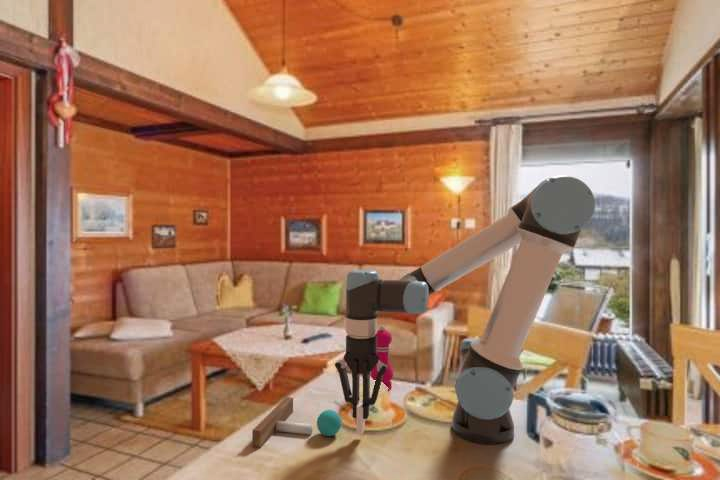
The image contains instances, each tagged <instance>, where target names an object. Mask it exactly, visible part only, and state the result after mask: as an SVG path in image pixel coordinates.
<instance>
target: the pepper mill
mask: <svg viewBox="0 0 720 480" xmlns="http://www.w3.org/2000/svg"><path fill="white" fill-rule="evenodd" d="M375 335H376V336H377V355H378V357H379V360H380V361H381V362H382V363H384V364H385V363H386V364H387V365H388V367H387V369H386V371H385V373H384V374H383V377H382V381H381V382H383V383H384V384H385V385H386V386H387V387H388V388H389V390H388V391H390V390H391V389H392V388H393V386H392V385H393V384H392V383H393V382H392V381H391V380H392V379H393V378H394V370H393V367H392V364H391V363H390V362H391V361H390V359H389V358H390V357H389V351H390V350H391V345H390V344H391V343H392V340H393V337H392V334H391V332H390V331H389V330H386V327H385V325H382V324H381V325H380V326H379V330H378V329H377V333H376V334H375ZM377 374H378V371H377V365H376V366H375V367H374V368H373V369H372V371H371V372H370V378H371V379H372V381H373V380H376V377H377Z"/></svg>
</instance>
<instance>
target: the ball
mask: <svg viewBox="0 0 720 480" xmlns="http://www.w3.org/2000/svg"><path fill="white" fill-rule="evenodd" d="M316 426H317V427H316V428H317V430H318V431H319V433H320V434H321V435H323V436H325V437H332V436H335V435H336V434H337V433H338V432H339V431H340V430H341V427H342V418H341V417H340V414H339V413H338V412H337V411H336V410H333V409H326V410H324V411H322V412H321V413H320V414H319V415H318V417H317V421H316Z"/></svg>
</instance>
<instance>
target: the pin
mask: <svg viewBox="0 0 720 480" xmlns="http://www.w3.org/2000/svg"><path fill="white" fill-rule="evenodd" d="M275 432H280V433H289V434H290V433H291V434H298V435H299V434H300V435H309V436H311V435H312V434H313V432H314V425H313V423H312V424H311V423H303V422H302V423H301V422H292V421H285V422H284V421H277V423H276V431H275Z"/></svg>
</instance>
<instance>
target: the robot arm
mask: <svg viewBox="0 0 720 480" xmlns="http://www.w3.org/2000/svg"><path fill="white" fill-rule="evenodd" d="M595 208H596V200H595V196H594V194H593V192H592V190H591V188H590V186H588V185H587V184H586V183H585V181H582V180H580V179H579V178H577V177H574V176H570V175H555V176H550V177H548V178H546V179H544V180H542V181H541V182H540V183H539V184H538V185H537V186H536V187H535V188H533V189H532V190H531V192H529V193H528V194H527V195H526V196H525V197H523V199H521V200H520V201H518V202H517V203H516V204H514V205H513V206H511V207H509V208H508V212H507V214H506V215H504V216H502V217H501V218H499V219H497V220H496V221H494V222H493V223H491V224H489V225H487V226H486V227H484V228H482V229H481V230H479V231H478V232H476V233H474V234H473V235H470V236H469V237H467V238H466V239H464V240H462V241H461V242H459V243H458V244H456V245H454V246H453V247H451V248H449V249H448V250H446V251H444V252H443V253H441V254H440V255H438V256H436V257H434V258H432V259H431V260H428V262H426V263H425V264H423V265H422V266H421V265H420V267H418V268H417V269H414V270H412V271H411V272H410V273H407V274H406V275H404V276H402V277H401V278H400V279H399V280H398V279H396V280H395V279H380V278H379V273H378V272H377V270H373V269H354V270H350V271H349V272H348V273H347V275H346V287H345V305H346V306H345V309H346V310H345V311H346V312H345V334H347V335H346V336H345V353H344V356H343V358H341V359H338V360H337V361H336V362H335V363H334V367H335V369H336V370H337V372H338V374H339V375H338V376H339V381H340V384H341V388H342V393H343V397H344V401H345V403H350V404H351V405H352V418H353V419H356V428H355V429H356V434H360V435H363V434H364V432H365V430H366V420H368V418H369V416H370V406H371V405H372V406H374V405H375V404H376V402H377V400H378V396H379V392H380V391H379V389H380V385H381V381H382V377H383V374H384V373H385V371H386V369H387V367H388V365H387V364H386V363H385V364H384V363H382V362H381V361H380V360H379V357H378V355H377V336H376V335H375V334H376V333H377V331H378V312H383V313H384V312H385V313H386V312H387V313H397V314H409V315H415V314H418V315H420V314H423V315H424V314H426V313H427V311H428V307H429V299H430V296H431V295H433V294H435V293H436V292H438V291H440V290H441V289H443V288H445V287H446V286H448V285H450V284H451V283H453V282H456V281H457V280H458V279H460V278H463V276H466V275H468V274H469V273H471V272H473V271H474V270H476V269H478V268H479V267H482V266H483V265H486V264H487V263H488V262H490V261H492V260H494V259H495V258H497V257H499V256H500V255H501V256H502V254H504V253H505V252H508V251H510V250H511V249H513V248H515V247H517V246H518V247H517V250H516V253H515V255H514V257H513V260H512V262H511V265H510V267H509V270H508V272H507V274H506V276H505V279H504V282H503V285H502V286H501V289H500V292H499V293H498V296H497V299H496V301H495V303H494V306H493V308H492V311H491V313H490V314H489V318H488V320H487V322H486V324H485V327H484V331H483V333H482V335H481V338H479V337H474V338H473V337H471V338H464V339H462V340H461V341H460V348H459V351H460V353H459V359H460V360H459V367H458V372H457V378H456V380H455V386H454V389H455V395H456V399H457V403H456V405H455V409H454V411H453V415H452V419H451V428H452V431H454V433H455V434H456V435H458V436H459V437H461V438H463V439H465V440H466V441H467V440H468V441H470V442H473V443H478V444H482V445H484V444H486V445H497V444H498V445H499V444H504V443H507V442H509V441H511V440H512V439H513V438H514V437H515V424H514V423H515V422H514V420H513V418H512V414H511V411H510V408H511V406H512V404H513V401H514V388H515V386H516V383H517V382H518V379H519V376H520V374H521V372H522V369H523V363H522V362H521V359H520V355H521V352H522V350H523V347H524V345H525V343H526V340H527V338H528V335H529V333H530V332H531V331H530V330H531V328H532V326H533V324H534V322H535V319H536V316H537V315H538V312H539V310H540V308H541V306H542V302H543V300H544V298H545V296H546V294H547V292H548V290H549V289H548V288H549V287H550V284H551V281H552V279H553V276H554V275H555V273H556V270H557V268H558V265H559V264H560V261H561V258H562V256H563V255H564V254H565V253H568V252H569V251H572V250H574V248H575V246H576V244H577V241H578V239H579V237H580V234H581V233H582V230H583V229H585V227H586V226H587V225H588V224H589V222H590V221H591V220H592V218H593V215H594V213H595ZM376 365H377V371H378V374H377V377H376V381H375V385H374V388H372V392H370V391H371V390H370V389H371V387H370V386H371V385H370V384H371V379H370V378H371V371H372V369H373V368H374V367H375V366H376ZM346 367H348V368H349V370H350V371H351V378H352V379H351V381H352V384H351V385H352V386H351V385H350V380H349V375H348V372H347V368H346ZM360 375H361V376H362V401H361V402H360V400H361V398H360ZM351 387H352V389H351ZM370 394H371V395H370Z"/></svg>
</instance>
